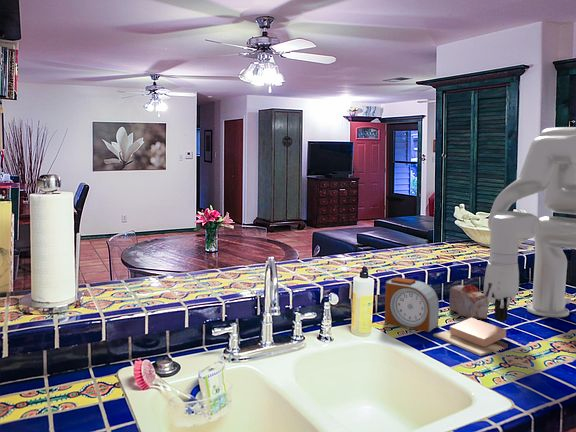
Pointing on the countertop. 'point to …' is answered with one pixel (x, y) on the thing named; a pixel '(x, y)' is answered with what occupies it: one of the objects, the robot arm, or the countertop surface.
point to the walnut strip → (501, 344)
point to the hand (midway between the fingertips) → (500, 319)
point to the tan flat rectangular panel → (468, 344)
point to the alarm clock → (411, 304)
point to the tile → (478, 331)
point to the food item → (468, 302)
